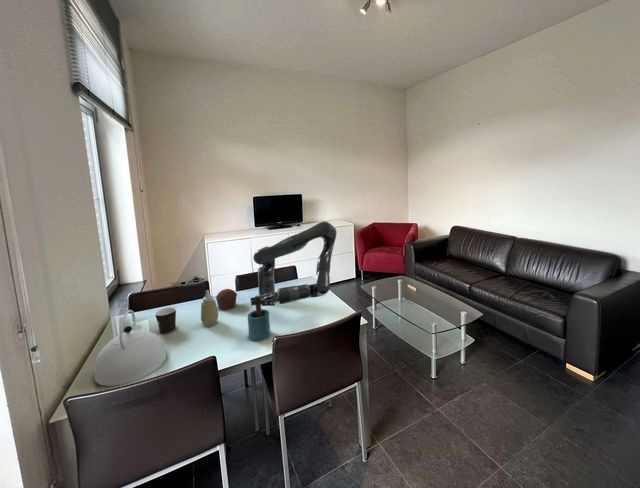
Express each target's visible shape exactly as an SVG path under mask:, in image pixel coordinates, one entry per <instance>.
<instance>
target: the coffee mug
mask: <svg viewBox="0 0 640 488" xmlns="http://www.w3.org/2000/svg"><path fill="white" fill-rule="evenodd" d="M154 315H155V318H156V323H157V326H158V329H159V333H160V334H163V335H165V334H169V333H172V332H174V331H175V330H176V322H177V321H176V320H177V319H176V318H177V308H176V307H172V306H169V307H168V306H167V307H164V308H160V309H159V310H156V311H155V312H154Z"/></svg>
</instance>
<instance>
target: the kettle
mask: <svg viewBox="0 0 640 488" xmlns="http://www.w3.org/2000/svg"><path fill="white" fill-rule="evenodd" d="M129 313H131V317H132V326H131V325H126V326H125V327H124V323H125V319H126V317H127V316H128V315H129ZM136 323H137V322H136V314H135V311H134V310H132V309H129V310H127V311H126V312H125V314H124V315H123V316H122V318H121V321H120V324H119V334H118V335H116V336H115V337H114V338H112V339H111V340H109V341H108V342H107V343H106V345H104V347H103V348H102V349H101V350H100V351H99V354H98V355H97V357H96V359H95V363H94V380H95V383H96V384H97V385H100V386H105V387H113V386H114V387H115V386H120V385H124V384H128V383H131V382H134V381H137V380H139V379H141V378H144V377H145V376H148V375H149V374H151V373H153V372H154V371H156V370H157V369H158V368H160V367H161V366H162V365H163V364H164V362H165V361H166V359H167V353H166V348H165V344H164V342H163V340H162V338H160V337H159V336H158V335H157V334H155V333H154V332H151V331H150V330H143V329H142V326H141V325H137V324H136ZM123 327H124V328H123Z"/></svg>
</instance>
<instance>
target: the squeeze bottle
mask: <svg viewBox="0 0 640 488" xmlns="http://www.w3.org/2000/svg"><path fill="white" fill-rule="evenodd" d="M218 318H219V309H218V305H217V300H215V299H214V296H213V295H211V293H210V290H208V289H207V290H205V295H204V296H203V298H202V302H201V304H200V320H201V323H202V325H203V326H204V327H211V326H215V325H217V322H218Z"/></svg>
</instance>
